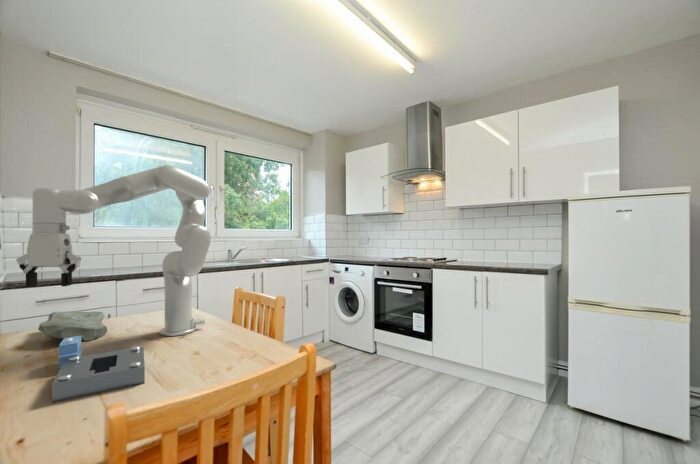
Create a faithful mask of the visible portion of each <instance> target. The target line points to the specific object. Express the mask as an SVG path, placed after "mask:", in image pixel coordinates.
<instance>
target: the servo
mask: <svg viewBox="0 0 700 464" xmlns="http://www.w3.org/2000/svg"><path fill="white" fill-rule="evenodd" d="M82 346H83V343H82V339H81V336H75V337H68V338H64V339H63V338H62V340H61V342H60V343H59V345H58V356H57V360H58V372H59V371H60V369H61V367H62V365H63V364H64V362H65V360H66V359H68V358H70V357H73V356H82Z"/></svg>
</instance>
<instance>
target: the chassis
mask: <svg viewBox="0 0 700 464" xmlns="http://www.w3.org/2000/svg"><path fill="white" fill-rule="evenodd" d="M144 349H145V348H144V345H143V346H140V345H137V346H136V345H135V346H132V347H130V348H125V349H118V350H111V351H106V352H100V353H94V354H87V355H81V356H73V357H70V358H68V359H66V360H65V362H64V364H63V365H62V367H61V369H60V371H59V370H58V373H57V374H56V376H55V378H54V380H53V382H52V383H51V403H56V402H61V401H62V402H63V401H65V400H66V401H68V400H71V399H76V398H81V397H85V396H90V395H95V394H101V393H104V392H109V391H113V390H118V389H123V388H128V387H132V386H137V385H141V384H146V383H145V381H146V380H145V370H146V369H145V352H144V351H145V350H144Z"/></svg>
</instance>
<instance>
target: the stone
mask: <svg viewBox="0 0 700 464" xmlns="http://www.w3.org/2000/svg"><path fill="white" fill-rule="evenodd" d="M104 318H105V314H104V312H102V311H53V312H51V313H50V314H49V315H48V319H47V320H45V321H42V322H40V323H39V326H38V329H37V330H38V331H39V332H40V333H43V334H44V336H45V337H49V338H54V339H62V340H63V339H64V338H68V337H75V336H81V340H83V341H84V342H90V341H93V340H95V339H99V338H100V337H103V336H104V335H105V334H107V333H108V327H107V326H106V325H105V324H104V323H103V319H104Z"/></svg>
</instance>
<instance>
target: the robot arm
mask: <svg viewBox="0 0 700 464" xmlns="http://www.w3.org/2000/svg"><path fill="white" fill-rule="evenodd" d="M170 189H171V190H172V191H175V196H176V197H177V199H178V200H179V202H180V203H181V204H182V205H181V206H182V215H181V218H180V221H179V224H178V227H177V230H176V233H175V235H174V242H175V245H177V246H178V247H179V248H181V250H175V251H170V252H169V253H167V254H166V255H165V256H164V258H163V260H162V265H161V266H162V273H163V280H164V281H163V283H164V327H163V328H161V329H160V330H159V334H160V335H162V336H164V337H172V336H173V337H177V336H184V335H188V334H190V333H193V332H195V331H196V330H197V325H205V323H206V321H205V318H196V319H194V318H193V315H192V313H193V309H192V308H193V305H192V302H193V298H192V297H193V295H192V294H193V293H192V292H193V283H192V277H195V276H197V275H198V274H199V273H200V272H201V270H202V269H203V266H204V263H205V261H206V257H207V254H208V251H209V248H210V245H211V239H212V237H211V233H210V231H209V229H208V228H207V227H206V226H204V225H205V221H206V215H207V214H206V213H207V210H206V207H205V206H206V205H205V204H204V200H206V199H207V198H208V197H209V196H210V192H211V191H210V190H211V189H210V185H209V184H208V182H206V181H205V180H204V179H202V178H200V177H198V176H196V175H194V174H191V173H189V172H188V171H185V170H183V169H181V168H179V167H176V166H174V165H170V164H166V165H162V166H158V167H157V166H156V167H154V168H151V169H150V168H149V169H147V170H143V171H139V172H136V173H132V174H131V173H130V174H129V175H124V176H120V177H117V178H115V179H112V180H109V181H107V182H104V183H101V184H97V185H94V186H90V187H87V188H86V187H85V188H83V189H60V188H59V189H58V188H51V187H38V188H37V187H36V188H34V190H33V191H32V214H31V215H32V217H31V218H32V225H31V227H32V230H31V232H32V233H30V235H29V237H28V242H27V248H26V254H24V255H21V256H19V257H18V258H16V259H15V260H16V262H17V264H18V265H19V266H18V267H19V269H21V271H22V272H23V274H25V287H26V288H29V287H30V288H31V287H35V286H38V272H37V270H38V269H39V268H59V269H60V270H61V271H62V273H61V275H60V276H61V279H60V282H61V283H60V286H61V287H69V286H71V285H72V282H73V273H74V272H75V270H76V269H77V268H78V267H79V264H80V263H81V261H82V257H80V256H78V255H76V254H73V247H72V241H71V236H70V234H69V233H67V231H69V230H70V226H69V225H67V213H69V214H71V215H76V216H77V215H78V216H79V215H86V214H91V213H93V212H95V211H96V210H97V209H100V208H105V207H107V206H111V205H114V204H120V203H126V202H131V201H134V200H138V199H140V198H144V197H147V196H149V195H152V194H156V193H159V192H163V191H165V190H170Z"/></svg>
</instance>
